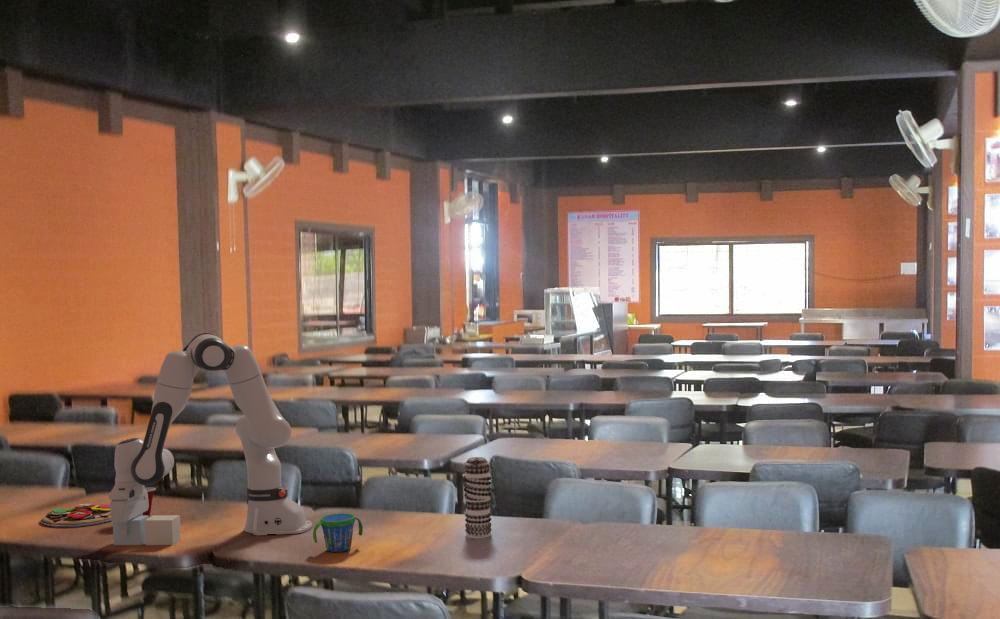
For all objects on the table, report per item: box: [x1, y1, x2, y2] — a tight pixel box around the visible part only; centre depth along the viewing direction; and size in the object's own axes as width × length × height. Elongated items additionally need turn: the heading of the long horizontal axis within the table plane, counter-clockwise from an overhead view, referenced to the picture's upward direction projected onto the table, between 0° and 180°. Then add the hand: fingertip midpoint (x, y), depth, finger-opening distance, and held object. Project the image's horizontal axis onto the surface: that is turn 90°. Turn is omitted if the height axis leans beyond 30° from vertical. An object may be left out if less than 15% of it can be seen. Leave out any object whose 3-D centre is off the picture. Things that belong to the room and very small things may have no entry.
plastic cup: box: [143, 486, 157, 518], centre depth 344 cm, size 11×11×12 cm
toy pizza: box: [40, 503, 112, 528], centre depth 352 cm, size 28×28×4 cm
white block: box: [112, 516, 149, 546], centre depth 316 cm, size 9×6×8 cm
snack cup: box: [312, 512, 364, 553], centre depth 303 cm, size 16×10×10 cm
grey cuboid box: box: [144, 514, 182, 546], centre depth 316 cm, size 9×6×8 cm
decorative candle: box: [462, 456, 492, 539], centre depth 317 cm, size 9×9×25 cm
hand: (131, 531), depth 316 cm, fingers open, 8 cm apart
